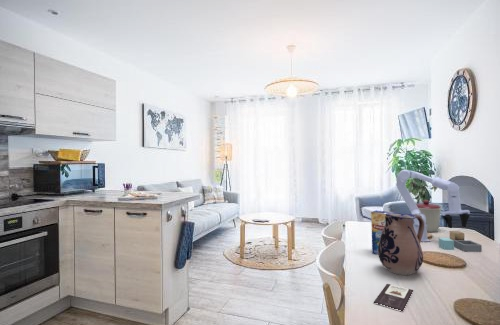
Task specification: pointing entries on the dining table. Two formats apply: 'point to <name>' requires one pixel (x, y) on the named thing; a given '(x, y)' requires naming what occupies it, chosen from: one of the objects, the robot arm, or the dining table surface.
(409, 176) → the robot arm
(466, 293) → the dining table surface
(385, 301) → the chocolate bar
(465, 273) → the dining table surface
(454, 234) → the wooden block
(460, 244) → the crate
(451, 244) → the pale teal cube
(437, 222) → the canister
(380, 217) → the beverage box
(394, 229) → the ceramic pitcher
